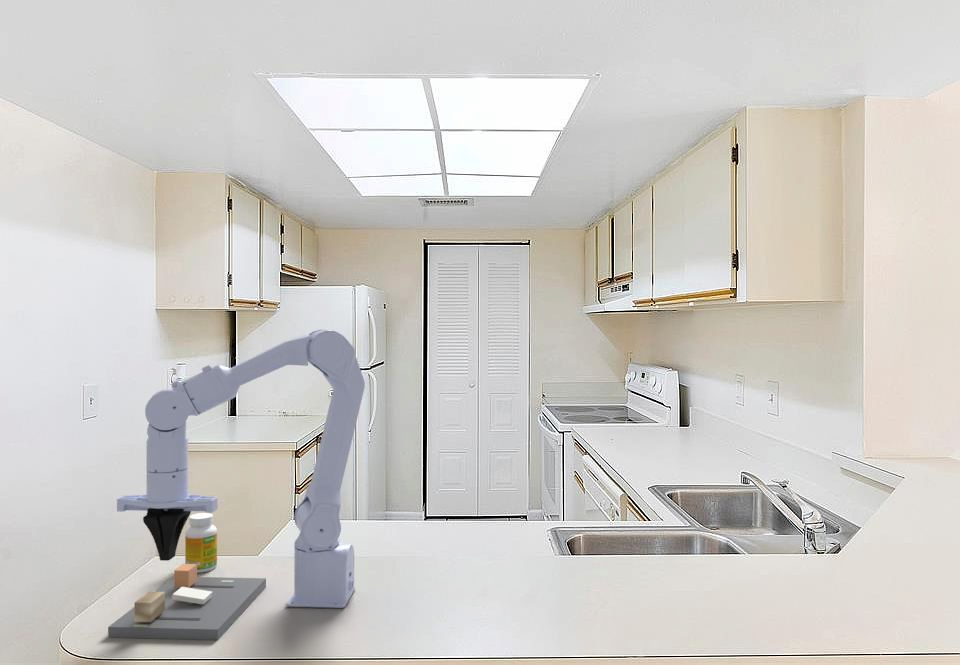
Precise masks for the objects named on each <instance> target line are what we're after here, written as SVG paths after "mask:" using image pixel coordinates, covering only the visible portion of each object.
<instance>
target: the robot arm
mask: <svg viewBox="0 0 960 665" xmlns="http://www.w3.org/2000/svg"><path fill="white" fill-rule="evenodd" d="M309 364H310V365H311V366H313V367H314V368H316V369H317V370H319V372H320V373H321V374H323V376H324V378H325V379H326V381H327V382H328V384H329V385H330V386H331V388H332V394H331V398H330V403H329V405H328V410H327V414H326V419H325V423H324V428H323V430H322V431H323V432H322V435H321V440H320V442H319V443H320V444H319V447H318V451H317V456H316V459H315V464H314V468H313V471H312V476H311V481H310V482H309V484H308V486H307V488H306V489H305V490H306V491H305V495H304V497H303V499H302V501H301V502H300V503H299V504H298V506H296V509H295V511H294V518H293V519H294V523H295V525H296V527H297V528H298V530H299V533H298V534H299V535H298V537H297V538H296V539H295V541H294V543H293V545H294V549H293V550H294V552H293V554H294V558H293V559H294V563H293V564H294V565H293V566H294V574H293V575H294V578H293V579H294V585H293V586H294V589H293V590H294V592H293V594H292V595H291V596H290V597H289V599H288V600H287V601H286V603H285V607H289V608H290V607H291V608H292V607H293V608H294V607H295V608H339V609H342V608H345V607H346V605H347V603H348V602H349V600H350V599H351V596H352V595H353V593H354V592H355V589H356V586H355V550H354V549H355V548H354V545H352V544H348V543H343V542H341V541H340V540H341V539H340V538H339V537H340V535H341V531H342V524H341V519H340V510H341V507H342V506H341V504H342V501H341V500H342V499H341V488H342V485H343V484H342V483H343V479H344V475H345V472H346V467H347V463H348V459H349V455H350V450H351V446H352V441H353V438H354V434H355V429H356V426H357V421H358V417H359V413H360V409H361V404H362V400H363V395H364V391H365V388H366V386H365V384H366V381H365V379H364V375H363V373H362V370H361V367H360V364H359V362H358V359H357V356H356V349H355V347H354V346H353V345H352V344H351V343H350V341H349V340H348V339H347V338H346V336H344V335H343V334H342V333H340V332H339V331H336V330H334V329H333V330H332V329H331V330H330V329H329V330H327V329H317V330H314V331H311V332H310V333H308V334H302V335H300V336H299V335H298V336H296V337H293V338H290V339H287V340H285V341H282V342H280V343H278V344H276V345H275V346H272V347H271V348H269V349H266V350H265V351H262V352H260V353H258V354H256V355H255V356H253V357H251V358H248V359H247V360H244V361H242V362H240V363H239V364H235V365H234V366H232V367H227V366H224V365H221V364H217V365H214V366H213V367H212V366H211V364H208V365H205V366H204V367H202V368H201V371H202V372H199V373H197V374H195V375H193V376H191V377H189V378H186V379H184V380H183V381H180V382H179V380H175V381H172V382H171V387H172V388H164V389H160V390H159V391H157V392H155V393H153V395H152V396H151V398H150V399H149V400H148V401H147V404H146V406H145V411H144V414H145V417H146V420H147V422H148V426H147V429H146V434H147V436H148V437H147V439H146V494H137V495H122V496H120V497H118V498H116V512H126V511H146V515H144V516H143V518H142V521H143V523H144V525H145V526H146V527H147V529H148V531H149V533H150V535H151V536H152V539H153V541H154V543H155V546H156V549H157V550H156V551H157V552H158V553H157V554H158V557H159V560H160V561H166V562H167V561H168V562H169V561H170V560H172V559H173V558H174V557H176V553H177V548H178V543H179V540H180V537H181V534H182V531H183V529H184V527H185V525H186V523H187V520H188V519H189V518H190V516H191V512H205V513H211V514H213V513H214V512H215V511H217V510H218V496H206V495H199V494H193V493H192V494H191V493H189V437H188V436H187V420H188V417H189V416H192V417H193V416H196V417H197V416H200V415H202V414H204V413H205V412H208V411H210V410H212V409H214V408H216V407H218V406H220V405H222V404H224V403H226V402H228V401H230V400H232V399H234V398H236V396H237V394H238V391H239V389H240V387H241V386H243V385H245V384H247V383H250V382H251V381H254V380H257V379H259V378H261V377H264V376H266V375H267V374H270V373H272V372H274V371H276V370H279V369H282V368H283V367H285V366H307V367H308V366H309Z"/></svg>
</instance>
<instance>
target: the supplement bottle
mask: <svg viewBox="0 0 960 665" xmlns="http://www.w3.org/2000/svg"><path fill="white" fill-rule="evenodd" d="M188 519H189V522H188V523H189V527H187V529H186V531H185V534H184V535H185V537H184V538H185V539H184V542H185V556H184V557H185V558H184V559H185V560H184V564H197V574H198V573H199V574H201V573H207V572H210V571H212V570H214V569H216V567H217V566H218V528H217V527H216V526H215V525H214V524H213V523H214V515H213V513H206V512H199V513H193V514H190V515H189V517H188Z"/></svg>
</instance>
